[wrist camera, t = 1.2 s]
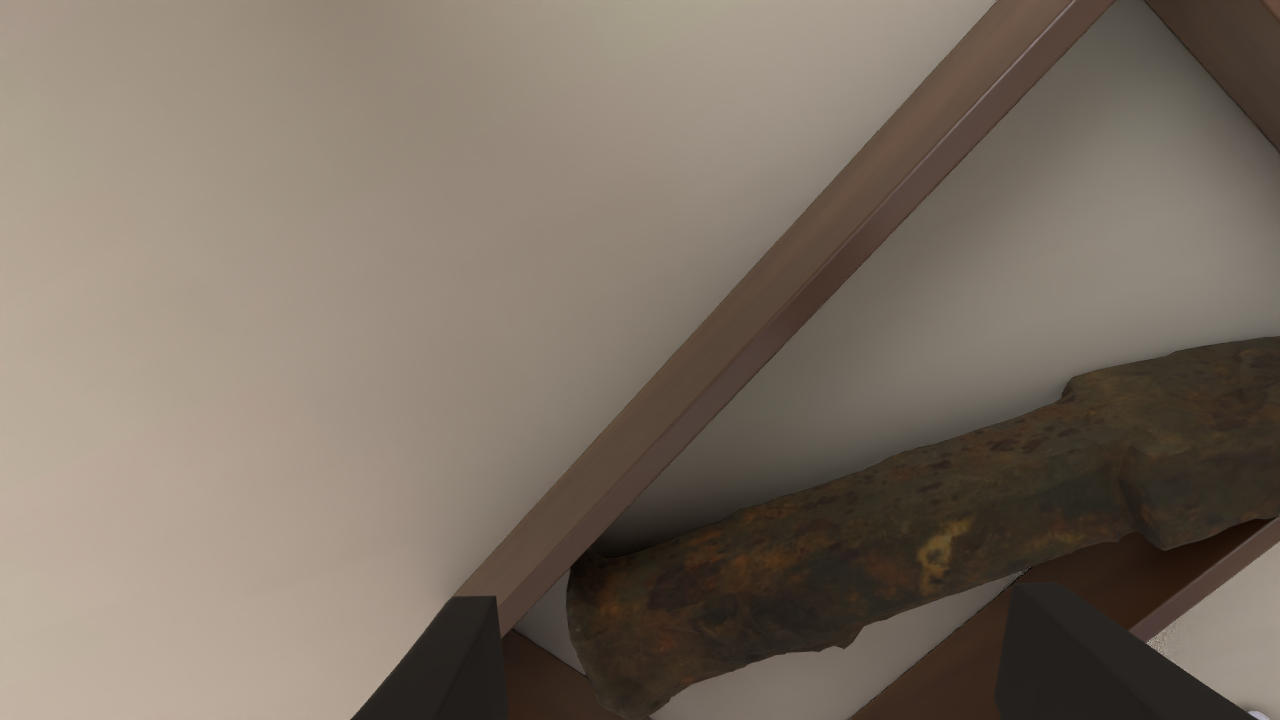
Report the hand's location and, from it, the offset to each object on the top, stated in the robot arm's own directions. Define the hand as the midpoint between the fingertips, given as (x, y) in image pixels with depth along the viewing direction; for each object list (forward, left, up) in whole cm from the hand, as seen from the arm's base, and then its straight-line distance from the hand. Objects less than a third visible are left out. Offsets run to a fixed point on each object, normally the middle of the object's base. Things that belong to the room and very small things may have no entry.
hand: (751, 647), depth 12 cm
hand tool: (-6, -2, -10) cm, 12 cm away
